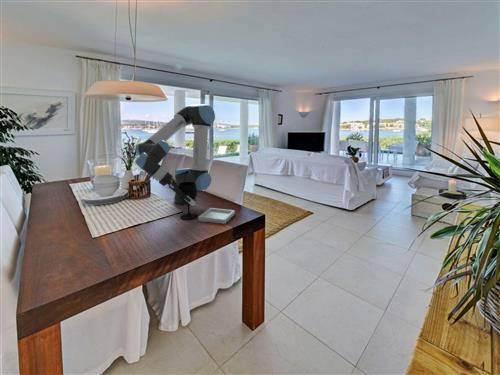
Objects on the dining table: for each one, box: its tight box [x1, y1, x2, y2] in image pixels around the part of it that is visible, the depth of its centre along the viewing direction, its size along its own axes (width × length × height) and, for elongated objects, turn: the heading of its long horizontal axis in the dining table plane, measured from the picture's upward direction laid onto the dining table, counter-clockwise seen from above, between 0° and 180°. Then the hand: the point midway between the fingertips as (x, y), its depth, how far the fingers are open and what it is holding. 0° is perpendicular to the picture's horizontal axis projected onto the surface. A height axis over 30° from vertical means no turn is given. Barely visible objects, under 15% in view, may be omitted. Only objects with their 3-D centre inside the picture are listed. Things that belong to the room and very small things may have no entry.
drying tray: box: [197, 207, 236, 225], centre depth 143 cm, size 16×16×2 cm
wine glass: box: [179, 182, 199, 221], centre depth 142 cm, size 10×10×20 cm
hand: (193, 201), depth 143 cm, fingers closed on wine glass, 10 cm apart
